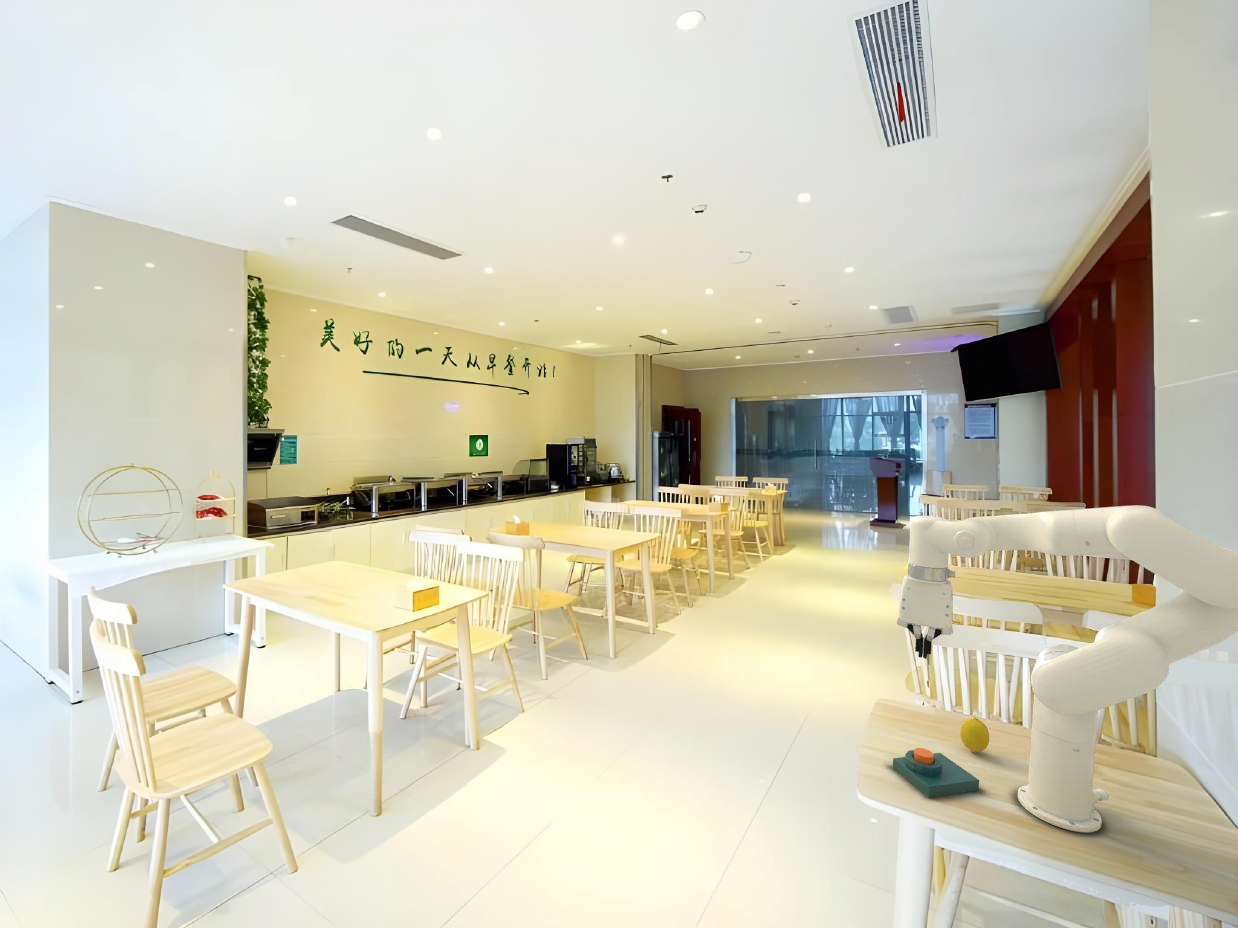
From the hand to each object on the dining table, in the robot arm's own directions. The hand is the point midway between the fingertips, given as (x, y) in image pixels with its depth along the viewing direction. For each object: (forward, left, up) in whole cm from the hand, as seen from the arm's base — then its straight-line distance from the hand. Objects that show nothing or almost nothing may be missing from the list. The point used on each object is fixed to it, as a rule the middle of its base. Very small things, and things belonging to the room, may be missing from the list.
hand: (922, 655), depth 122 cm
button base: (+2, +7, -23) cm, 24 cm away
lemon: (-15, 0, -23) cm, 28 cm away
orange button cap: (+4, +6, -20) cm, 21 cm away
